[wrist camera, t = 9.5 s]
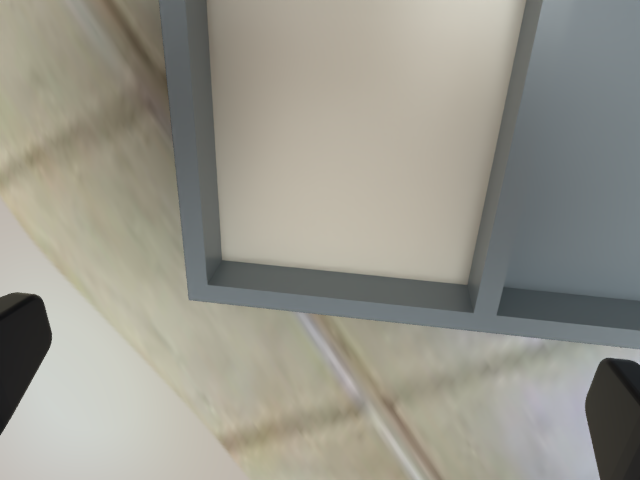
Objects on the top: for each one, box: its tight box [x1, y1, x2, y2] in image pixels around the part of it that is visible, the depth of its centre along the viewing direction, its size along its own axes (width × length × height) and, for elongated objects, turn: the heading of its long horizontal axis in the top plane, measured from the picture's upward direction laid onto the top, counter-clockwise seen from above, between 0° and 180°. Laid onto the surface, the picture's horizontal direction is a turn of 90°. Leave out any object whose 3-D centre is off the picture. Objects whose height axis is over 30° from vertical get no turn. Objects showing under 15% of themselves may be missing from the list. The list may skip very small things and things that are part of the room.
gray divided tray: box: [159, 0, 640, 349], centre depth 17 cm, size 13×22×2 cm, turn 88°
